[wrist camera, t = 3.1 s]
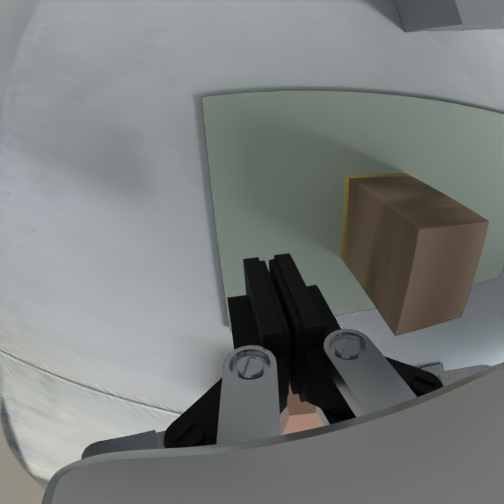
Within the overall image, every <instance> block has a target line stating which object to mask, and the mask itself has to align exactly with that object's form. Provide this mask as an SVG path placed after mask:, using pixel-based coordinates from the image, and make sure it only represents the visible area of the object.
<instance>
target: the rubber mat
mask: <svg viewBox="0 0 504 504" xmlns="http://www.w3.org/2000/svg"><path fill="white" fill-rule="evenodd" d="M202 105H203V115H204V126H205V136H206V146H207V155H208V164H209V174H210V182H211V191H212V200H213V208H214V217H215V225H216V233H217V241H218V249H219V256H220V264H221V271H222V279H223V286H224V293H225V300H226V307H227V314H228V321H229V328H230V332H232V329H231V322H230V315H229V308H228V301H227V297H234V296H242V295H246V288H245V277H244V266H243V259H247V258H255V257H259V260H260V261H263V260H265V262H266V265H267V268H268V270H269V260H271V259H274V255H278V254H286V253H290V254H291V256H292V258H293V260H294V262H295V264H296V266H297V268H298V270H299V272H300V274H301V276H302V278H303V280H304V282H305V284H306V286H311V285H317V286H318V288H319V289H320V291H321V293H322V295H323V297H324V298H325V300H326V302H327V304H328V306H329V308H330V309H331V311H332V313H333V315H334V316H337V315H343V314H348V313H353V312H358V311H363V310H368V309H373V308H376V307H375V305H374V304H373V303H372V301H371V300H370V298H369V297H368V295H367V294H366V292H365V291H364V290H363V288H362V287H361V285H360V284H359V283H358V281H357V280H356V278H355V277H354V276H353V274H352V273H351V271H350V270H349V269H348V267H347V266H346V265H345V263H344V262H343V260H342V259H341V258H340V256H341V243H342V227H343V208H344V183H345V175H364V174H395V173H406V174H408V175H410V176H412V177H414V178H416V179H418V180H420V181H422V182H424V183H425V184H427V185H429V186H431V187H433V188H435V189H436V190H438V191H440V192H442V193H444V194H445V195H447V196H449V197H450V198H452V199H454V200H456V201H457V202H459V203H461V204H462V205H464V206H466V207H467V208H469V209H471V210H472V211H474V212H475V213H477V214H479V215H480V216H482V217H483V218H485V219H486V220H488V221H489V225H488V229H487V234H486V238H485V242H484V246H483V250H482V253H481V257H480V261H479V264H478V268H477V271H476V274H475V277H474V281H473V284H472V285H474V284H477V283H481V282H484V281H488V280H491V279H495V278H498V277H500V275H501V272H502V269H503V266H504V114H500V113H496V112H492V111H488V110H483V109H479V108H474V107H470V106H465V105H459V104H454V103H448V102H442V101H436V100H430V99H423V98H415V97H407V96H398V95H388V94H377V93H363V92H344V91H270V92H251V93H237V94H225V95H215V96H205V97H202Z"/></svg>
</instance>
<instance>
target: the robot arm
mask: <svg viewBox="0 0 504 504" xmlns="http://www.w3.org/2000/svg"><path fill="white" fill-rule="evenodd" d="M243 266H244V277H245V288H246V295H242V296H234V297H227V301H228V308H229V315H230V322H231V329H232V336H233V343H234V350H233V351H232V352H231V353H229V355H228V356H227V357H226V358H225V361H224V365H223V376H222V378H221V379H220V380H219V381H218V382H217V383H216V384H215V385H214V386H213V387H211V388H210V389H209V390H208V391H207V392H206V393H205V394H204V395H203V396H202V397H201V398H200V399H198V400H197V401H196V402H195V403H194V404H193V405H192V406H191V407H190V408H189V409H187V410H186V411H185V412H184V413H183V414H182V415H181V416H180V417H179V418H177V419H176V420H175V421H174V422H173V423H172V424H171V425H170V426H169V427H168V428H167V430H166V431H162V432H158V433H156V431H155V430H152V431H148V432H144V433H139V434H135V435H130V436H125V437H120V438H115V439H109V440H104V441H98V442H95V443H92V444H90V445H89V446H88V447H87V448H85V450H84V452H83V454H82V458H81V460H79V461H76V462H73V463H71V464H69V465H67V466H65V467H63V468H61V469H60V470H59V471H58V472H56V473H55V474H54V476H53V477H52V478H51V480H50V482H49V484H48V486H47V488H46V491H45V494H44V497H43V501H42V504H504V362H503V363H500V364H497V365H494V366H488V365H477V366H472V367H466V368H461V369H455V370H448V371H442V372H438V374H437V375H436V376H435V375H434V374H433V373H430V372H428V371H426V370H423V369H420V368H417V367H414V366H411V365H408V364H405V363H402V362H399V361H396V360H393V359H390V358H387V357H384V356H383V355H382V353H381V352H380V351H379V350H378V349H377V347H376V346H375V345H374V344H373V343H372V341H371V340H370V339H369V338H368V337H367V336H366V335H365V334H363V333H361V332H359V331H357V330H353V329H341V328H340V326H339V324H338V323H337V321H336V319H335V317H334V315H333V313H332V311H331V309H330V308H329V306H328V304H327V302H326V300H325V298H324V297H323V295H322V293H321V291H320V289H319V288H318V286H317V285H311V286H306V284H305V282H304V280H303V278H302V276H301V274H300V272H299V270H298V268H297V266H296V264H295V262H294V260H293V258H292V256H291V254H290V253H286V254H278V255H274V259H271V260H269V270H268V268H267V265H266V262H265V260H263V261H260V260H259V257H255V258H247V259H243ZM289 384H290V387H291V391H292V393H293V395H294V394H298V395H299V398H300V401H301V402H305V401H307V402H308V403H310V404H312V405H314V406H315V409H316V412H317V414H318V416H319V418H320V420H321V422H322V424H323V425H324V426H322V427H317V428H313V429H309V430H304V431H299V432H294V433H289V434H284V435H281V427H280V414H281V413H282V412H283V410H284V409H285V408H286V407H287V396H288V395H289Z"/></svg>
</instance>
